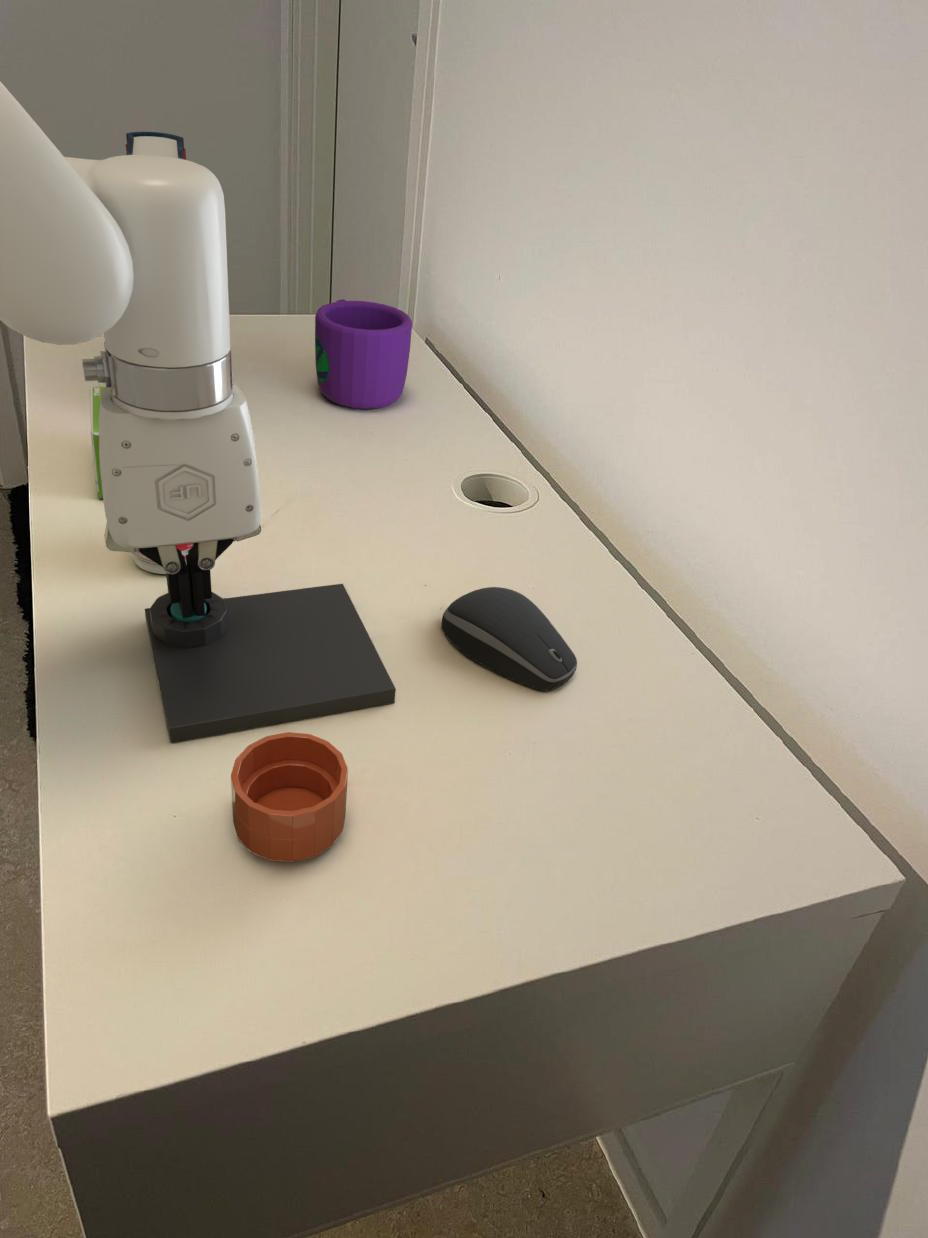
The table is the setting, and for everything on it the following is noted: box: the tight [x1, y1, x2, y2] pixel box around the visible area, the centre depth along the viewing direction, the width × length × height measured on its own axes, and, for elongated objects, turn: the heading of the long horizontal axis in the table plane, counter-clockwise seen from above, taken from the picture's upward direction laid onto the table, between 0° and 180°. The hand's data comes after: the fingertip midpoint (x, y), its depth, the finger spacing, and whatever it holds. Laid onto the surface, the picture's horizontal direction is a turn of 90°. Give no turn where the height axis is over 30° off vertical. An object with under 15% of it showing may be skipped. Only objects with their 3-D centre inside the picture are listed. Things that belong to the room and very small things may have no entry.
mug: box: [314, 298, 413, 410], centre depth 111 cm, size 17×11×10 cm, turn 24°
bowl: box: [230, 731, 349, 863], centre depth 55 cm, size 7×7×5 cm
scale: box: [144, 583, 397, 744], centre depth 68 cm, size 16×14×3 cm
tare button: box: [171, 603, 207, 622], centre depth 69 cm, size 3×3×2 cm
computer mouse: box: [441, 586, 578, 691], centre depth 73 cm, size 7×12×4 cm, turn 49°
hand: (190, 606), depth 68 cm, fingers closed
